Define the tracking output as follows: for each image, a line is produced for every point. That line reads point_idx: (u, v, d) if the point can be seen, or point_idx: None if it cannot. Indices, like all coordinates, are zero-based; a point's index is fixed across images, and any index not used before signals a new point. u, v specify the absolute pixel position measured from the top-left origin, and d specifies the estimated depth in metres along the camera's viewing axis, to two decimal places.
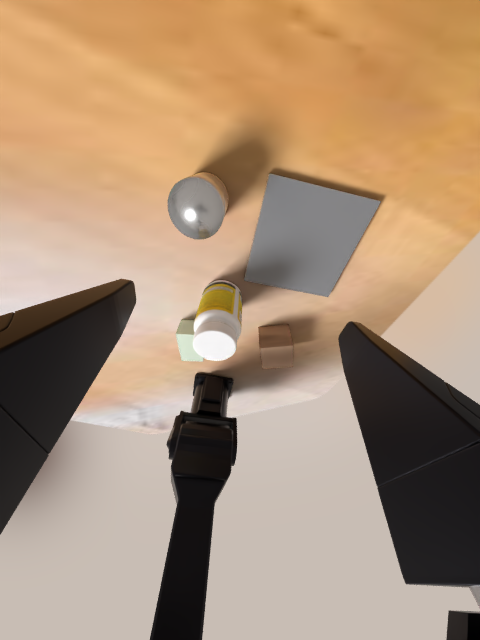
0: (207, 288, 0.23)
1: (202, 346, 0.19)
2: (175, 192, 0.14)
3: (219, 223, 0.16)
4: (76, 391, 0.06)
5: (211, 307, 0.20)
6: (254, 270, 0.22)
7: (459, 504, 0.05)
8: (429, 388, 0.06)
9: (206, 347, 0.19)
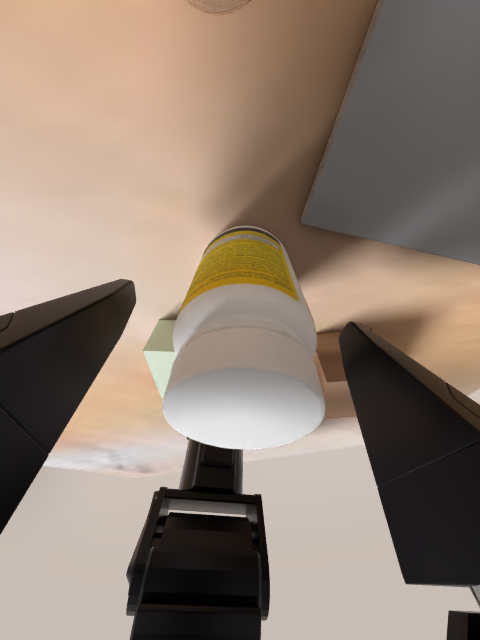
0: (212, 243, 0.10)
1: (198, 417, 0.05)
2: None
3: None
4: (76, 391, 0.06)
5: (228, 278, 0.06)
6: (334, 192, 0.09)
7: (459, 504, 0.05)
8: (429, 388, 0.06)
9: (212, 420, 0.05)
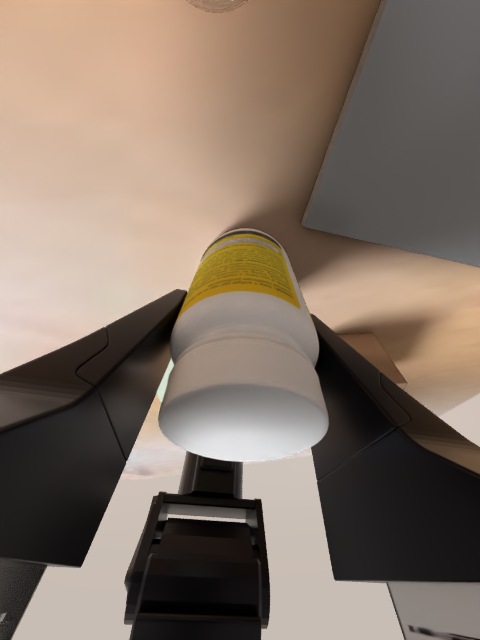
0: (211, 246, 0.09)
1: (196, 431, 0.05)
2: None
3: None
4: (147, 400, 0.06)
5: (227, 285, 0.06)
6: (336, 195, 0.09)
7: (375, 496, 0.04)
8: (358, 377, 0.05)
9: (210, 434, 0.05)
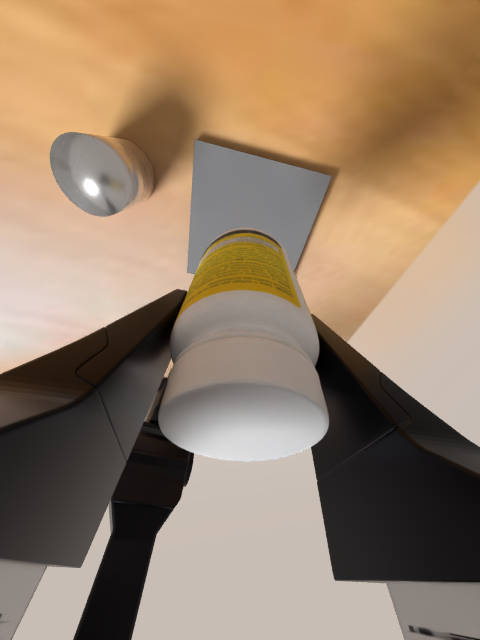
0: (211, 246, 0.09)
1: (196, 431, 0.05)
2: (56, 153, 0.11)
3: (122, 195, 0.13)
4: (148, 400, 0.06)
5: (227, 284, 0.06)
6: (197, 260, 0.19)
7: (375, 496, 0.04)
8: (358, 377, 0.05)
9: (210, 434, 0.05)
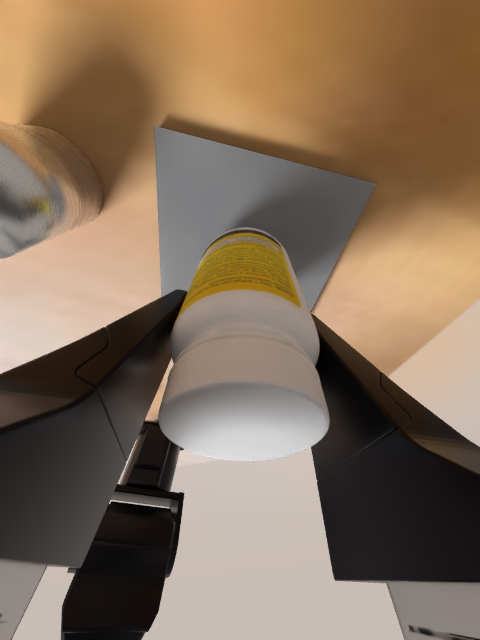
0: (212, 245, 0.09)
1: (196, 430, 0.05)
2: None
3: (17, 225, 0.07)
4: (147, 400, 0.06)
5: (227, 284, 0.06)
6: None
7: (376, 496, 0.04)
8: (358, 377, 0.05)
9: (210, 433, 0.05)
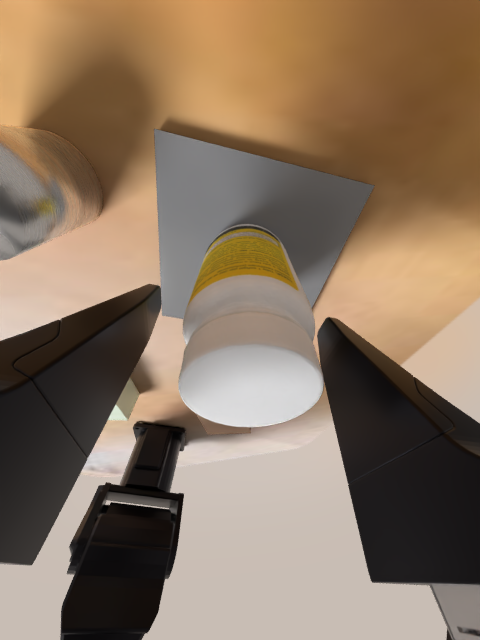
0: (216, 240, 0.10)
1: (210, 394, 0.06)
2: None
3: (18, 227, 0.07)
4: (112, 396, 0.06)
5: (234, 270, 0.06)
6: (174, 301, 0.14)
7: (419, 500, 0.05)
8: (395, 383, 0.05)
9: (222, 397, 0.06)
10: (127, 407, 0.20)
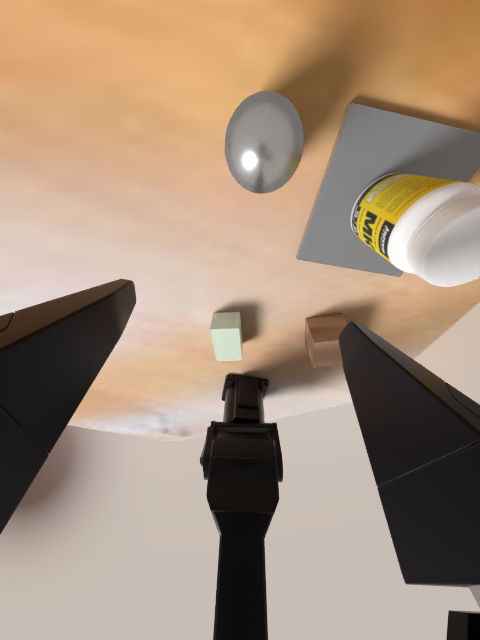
0: (378, 184, 0.14)
1: (447, 249, 0.10)
2: (238, 118, 0.10)
3: (294, 166, 0.11)
4: (76, 391, 0.06)
5: (445, 182, 0.10)
6: (312, 245, 0.18)
7: (459, 504, 0.05)
8: (429, 388, 0.06)
9: (453, 252, 0.10)
10: (241, 349, 0.24)
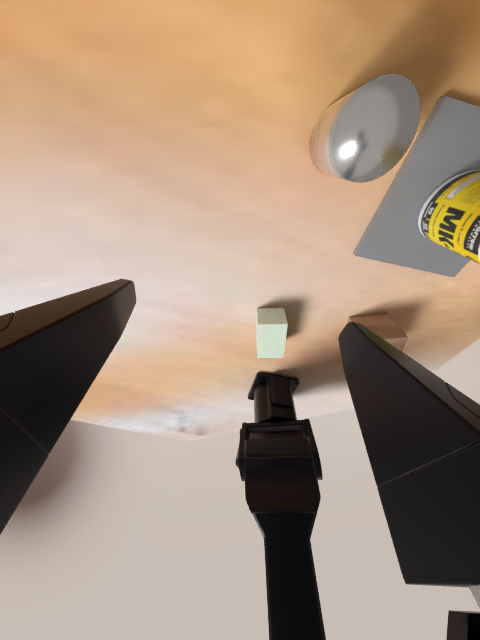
0: (459, 180, 0.14)
1: None
2: (356, 101, 0.10)
3: (400, 155, 0.11)
4: (76, 391, 0.06)
5: None
6: (373, 241, 0.18)
7: (459, 504, 0.05)
8: (429, 388, 0.06)
9: None
10: None
